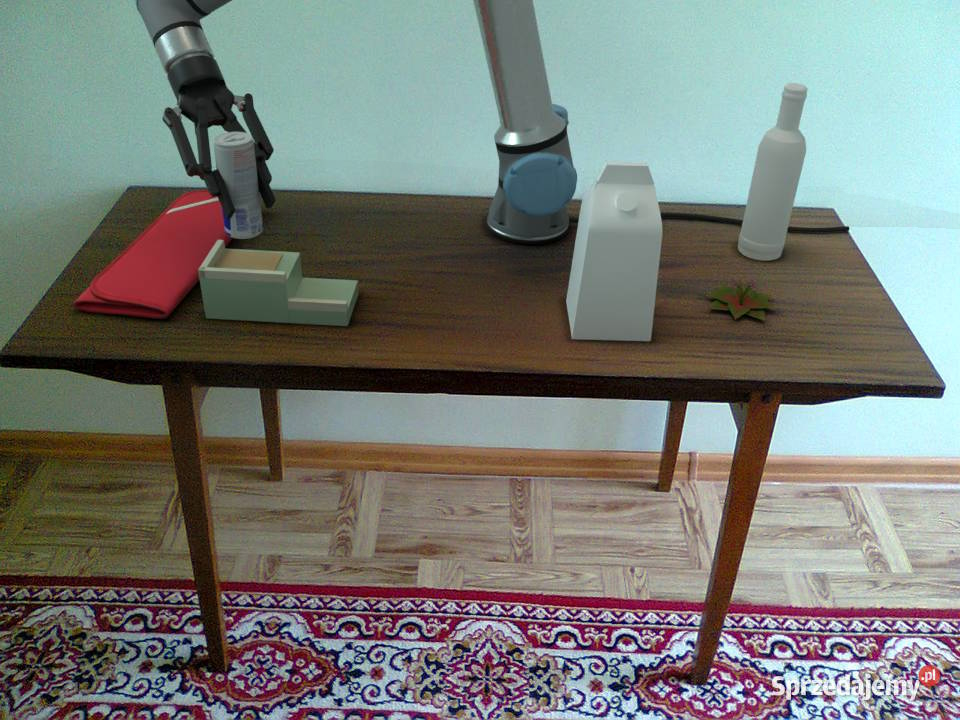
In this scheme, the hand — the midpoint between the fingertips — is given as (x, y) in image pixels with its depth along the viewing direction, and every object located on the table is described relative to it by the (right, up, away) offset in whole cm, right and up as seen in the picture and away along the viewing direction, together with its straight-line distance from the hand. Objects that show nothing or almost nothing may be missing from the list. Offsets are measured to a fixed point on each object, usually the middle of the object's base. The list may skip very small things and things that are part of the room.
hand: (251, 209), depth 133 cm
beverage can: (-2, -3, +6) cm, 7 cm away
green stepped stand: (+2, -13, +12) cm, 18 cm away
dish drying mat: (-19, -4, +24) cm, 31 cm away
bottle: (+84, -2, +32) cm, 90 cm away
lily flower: (+76, -13, +16) cm, 78 cm away
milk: (+53, -16, +11) cm, 57 cm away
